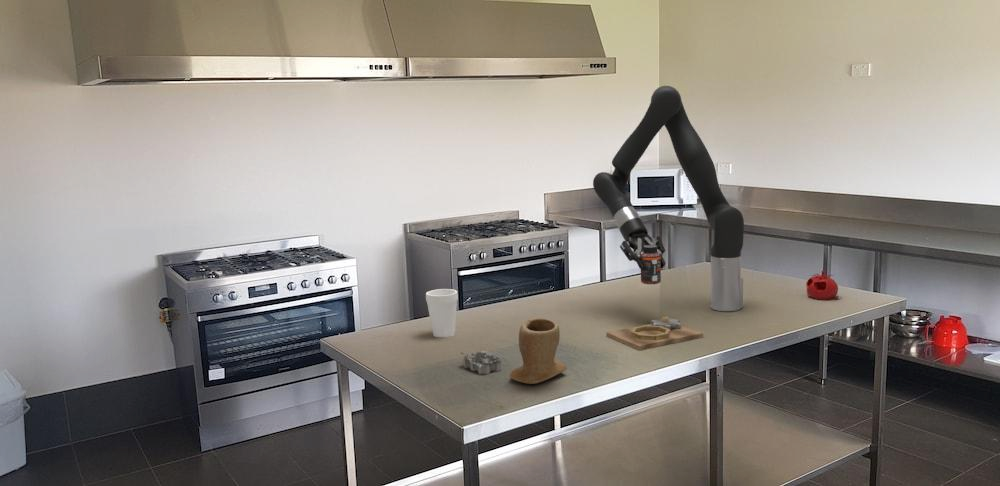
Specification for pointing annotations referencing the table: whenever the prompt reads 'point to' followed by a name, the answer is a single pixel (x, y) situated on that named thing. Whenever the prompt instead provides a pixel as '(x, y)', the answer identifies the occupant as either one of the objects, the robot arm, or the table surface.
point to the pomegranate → (821, 287)
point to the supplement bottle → (651, 265)
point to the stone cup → (538, 351)
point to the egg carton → (482, 362)
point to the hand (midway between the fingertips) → (654, 267)
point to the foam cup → (442, 311)
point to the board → (654, 334)
